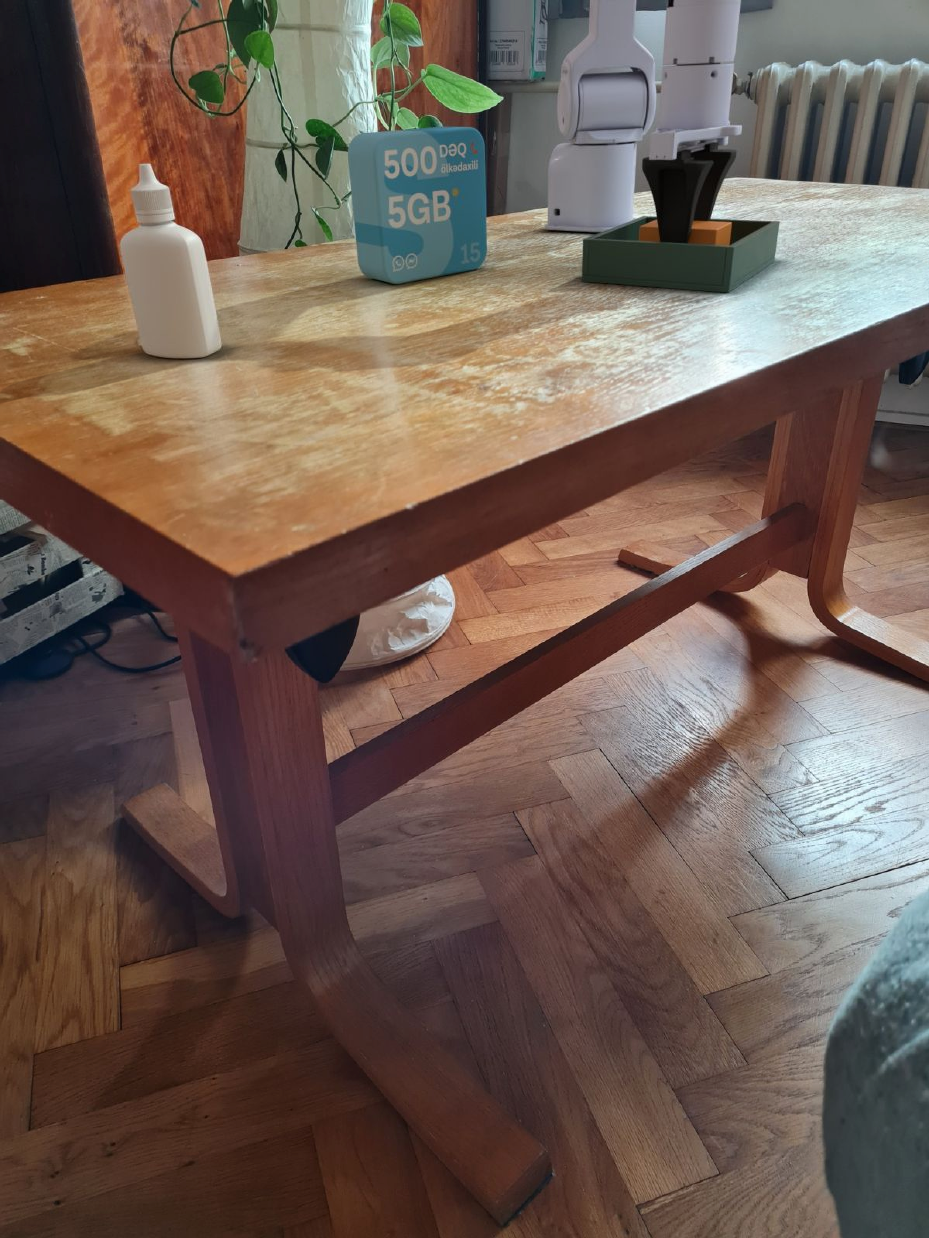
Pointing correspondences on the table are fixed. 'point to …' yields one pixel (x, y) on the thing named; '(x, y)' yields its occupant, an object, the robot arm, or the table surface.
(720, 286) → the bin
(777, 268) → the table surface
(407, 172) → the data package
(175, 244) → the eye dropper bottle
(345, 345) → the table surface
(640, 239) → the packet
